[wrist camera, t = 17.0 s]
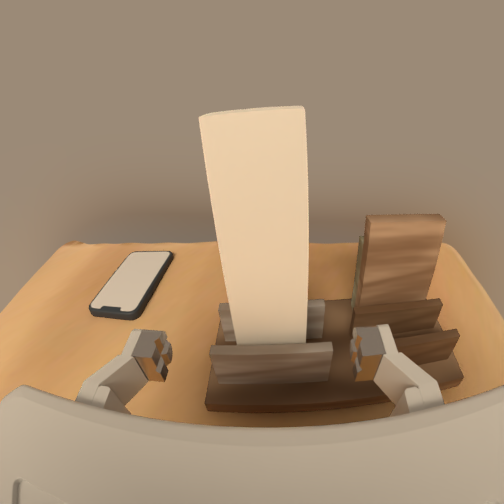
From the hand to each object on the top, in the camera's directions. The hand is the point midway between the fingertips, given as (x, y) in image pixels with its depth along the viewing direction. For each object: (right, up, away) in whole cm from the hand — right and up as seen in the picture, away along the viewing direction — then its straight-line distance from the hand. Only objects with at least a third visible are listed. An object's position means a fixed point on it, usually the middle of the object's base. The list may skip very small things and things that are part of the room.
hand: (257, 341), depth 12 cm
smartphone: (-18, -2, +31) cm, 36 cm away
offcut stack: (+15, -3, +19) cm, 24 cm away
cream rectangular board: (+2, -6, +16) cm, 17 cm away
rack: (+9, -7, +17) cm, 20 cm away
